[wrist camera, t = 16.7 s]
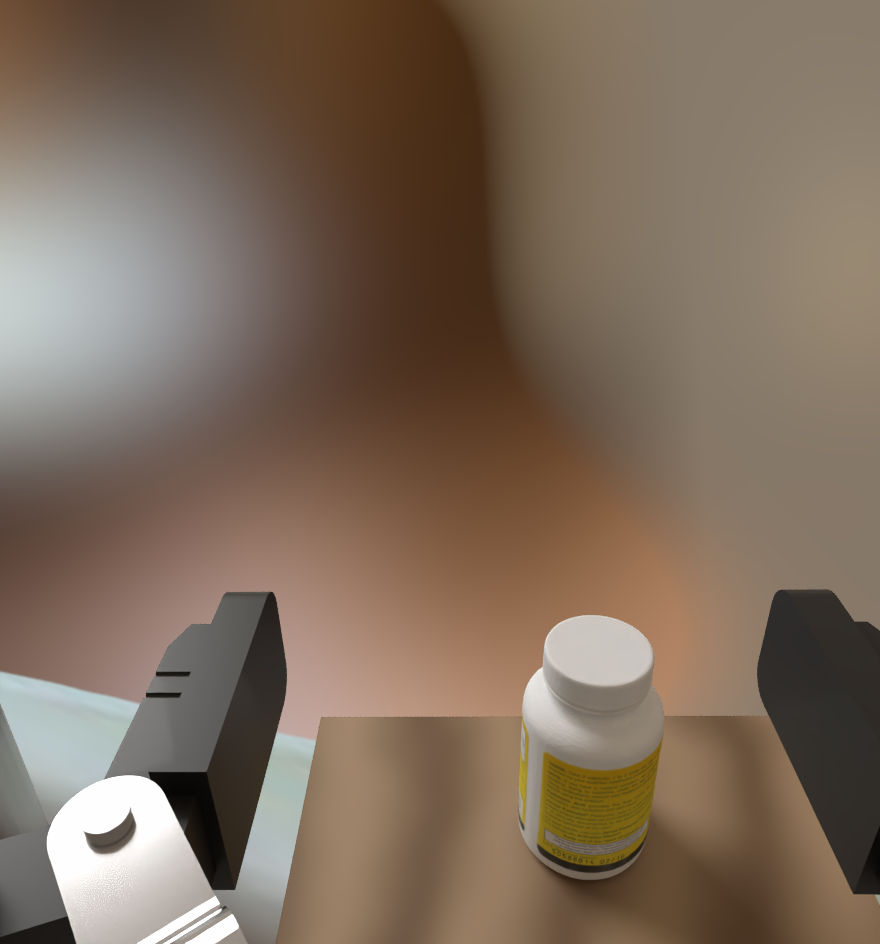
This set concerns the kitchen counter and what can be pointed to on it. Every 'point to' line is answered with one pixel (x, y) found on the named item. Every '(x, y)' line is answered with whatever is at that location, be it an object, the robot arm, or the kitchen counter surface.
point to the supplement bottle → (590, 748)
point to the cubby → (527, 878)
